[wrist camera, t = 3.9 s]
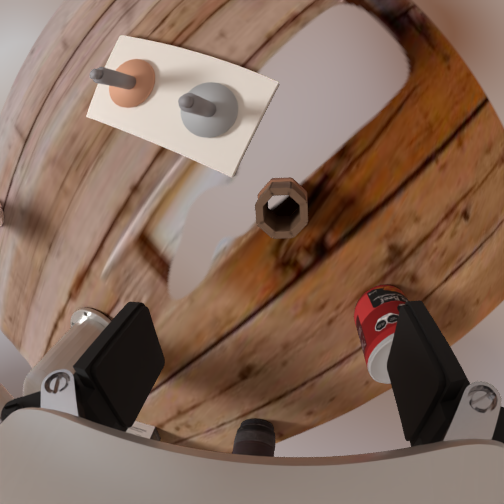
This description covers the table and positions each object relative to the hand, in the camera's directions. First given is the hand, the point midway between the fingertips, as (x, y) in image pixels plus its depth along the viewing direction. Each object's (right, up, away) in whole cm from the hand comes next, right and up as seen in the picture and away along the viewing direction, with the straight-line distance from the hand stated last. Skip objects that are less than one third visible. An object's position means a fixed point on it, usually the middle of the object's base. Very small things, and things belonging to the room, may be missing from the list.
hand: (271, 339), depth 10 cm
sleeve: (+3, +9, +23) cm, 25 cm away
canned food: (+17, -5, +27) cm, 32 cm away
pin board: (-10, +22, +20) cm, 31 cm away
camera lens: (0, -32, +40) cm, 51 cm away
